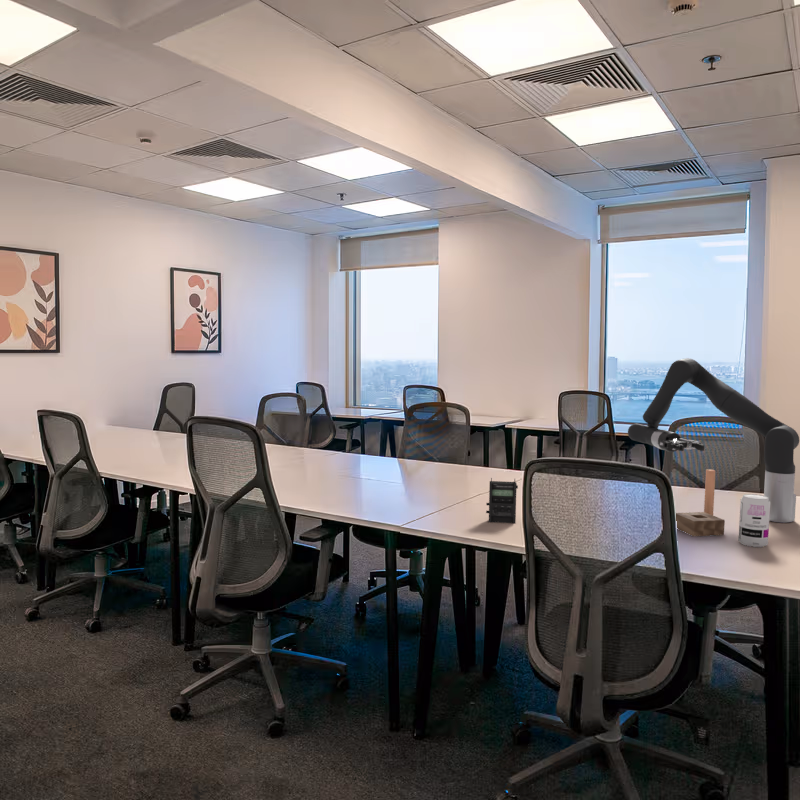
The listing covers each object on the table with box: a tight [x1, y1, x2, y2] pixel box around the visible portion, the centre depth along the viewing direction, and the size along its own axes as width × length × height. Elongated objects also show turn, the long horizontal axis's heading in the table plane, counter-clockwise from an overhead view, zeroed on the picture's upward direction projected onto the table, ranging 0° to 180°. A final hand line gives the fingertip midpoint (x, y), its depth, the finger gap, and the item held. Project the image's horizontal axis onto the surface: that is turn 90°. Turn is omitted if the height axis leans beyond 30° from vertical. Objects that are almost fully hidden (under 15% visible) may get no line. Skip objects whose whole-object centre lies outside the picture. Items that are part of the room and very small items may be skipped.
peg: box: [703, 469, 716, 516], centre depth 244 cm, size 3×3×18 cm
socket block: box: [675, 511, 726, 537], centre depth 231 cm, size 11×11×5 cm
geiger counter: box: [485, 477, 519, 524], centre depth 239 cm, size 10×4×15 cm, turn 82°
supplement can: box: [738, 493, 770, 548], centre depth 216 cm, size 8×8×15 cm
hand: (693, 448), depth 253 cm, fingers open, 8 cm apart
